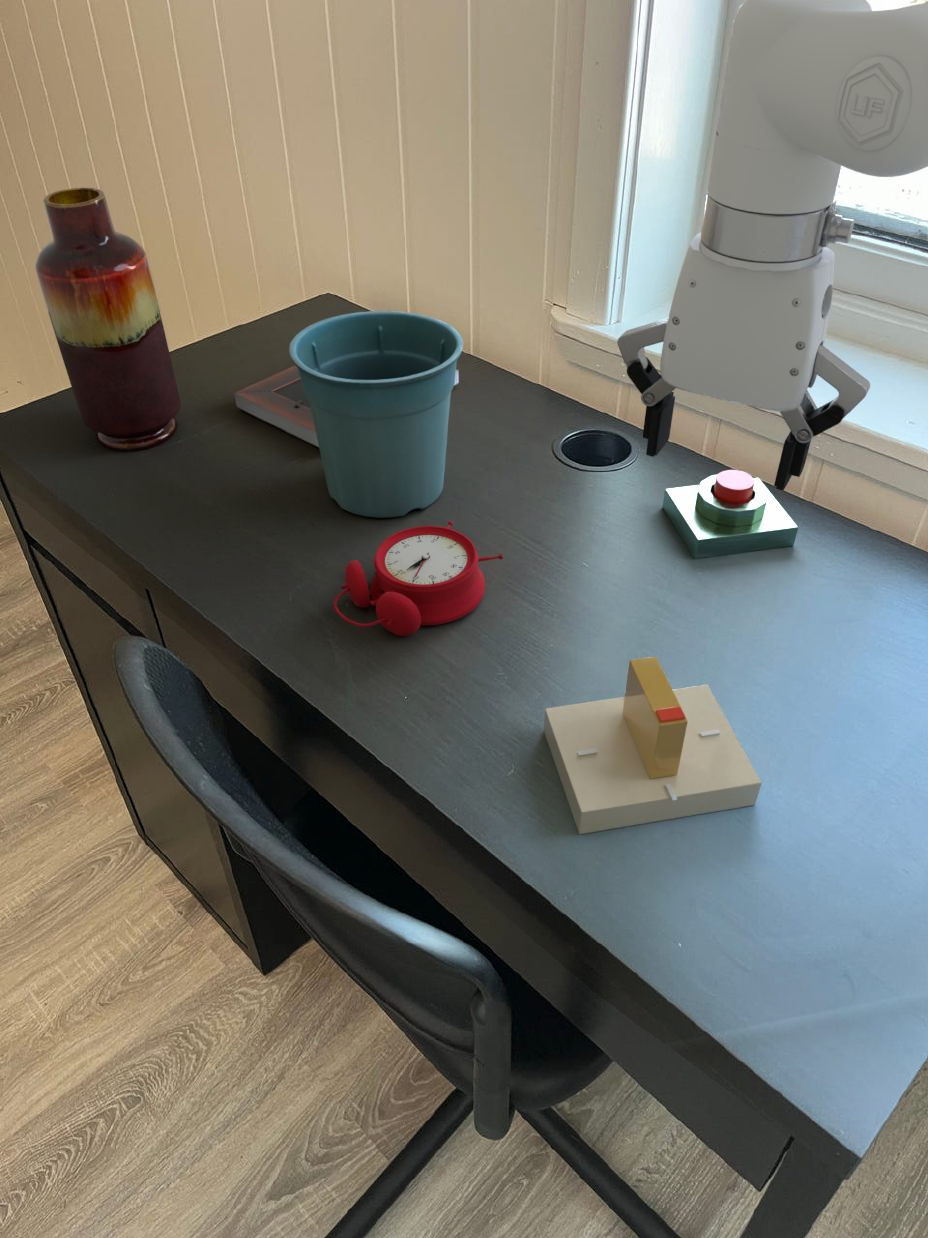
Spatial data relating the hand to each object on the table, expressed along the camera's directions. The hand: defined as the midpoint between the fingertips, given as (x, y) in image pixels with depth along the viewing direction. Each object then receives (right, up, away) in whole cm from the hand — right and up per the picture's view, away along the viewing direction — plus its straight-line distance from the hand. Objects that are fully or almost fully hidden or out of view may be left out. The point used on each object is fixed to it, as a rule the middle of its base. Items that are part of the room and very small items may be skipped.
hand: (719, 463), depth 70 cm
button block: (+7, -2, +23) cm, 25 cm away
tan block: (-6, -21, -2) cm, 21 cm away
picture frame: (-33, +15, +45) cm, 58 cm away
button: (+7, 0, +21) cm, 22 cm away
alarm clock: (-24, -10, +16) cm, 30 cm away
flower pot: (-27, +2, +30) cm, 40 cm away
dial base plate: (-6, -23, 0) cm, 23 cm away
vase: (-57, +10, +40) cm, 70 cm away
